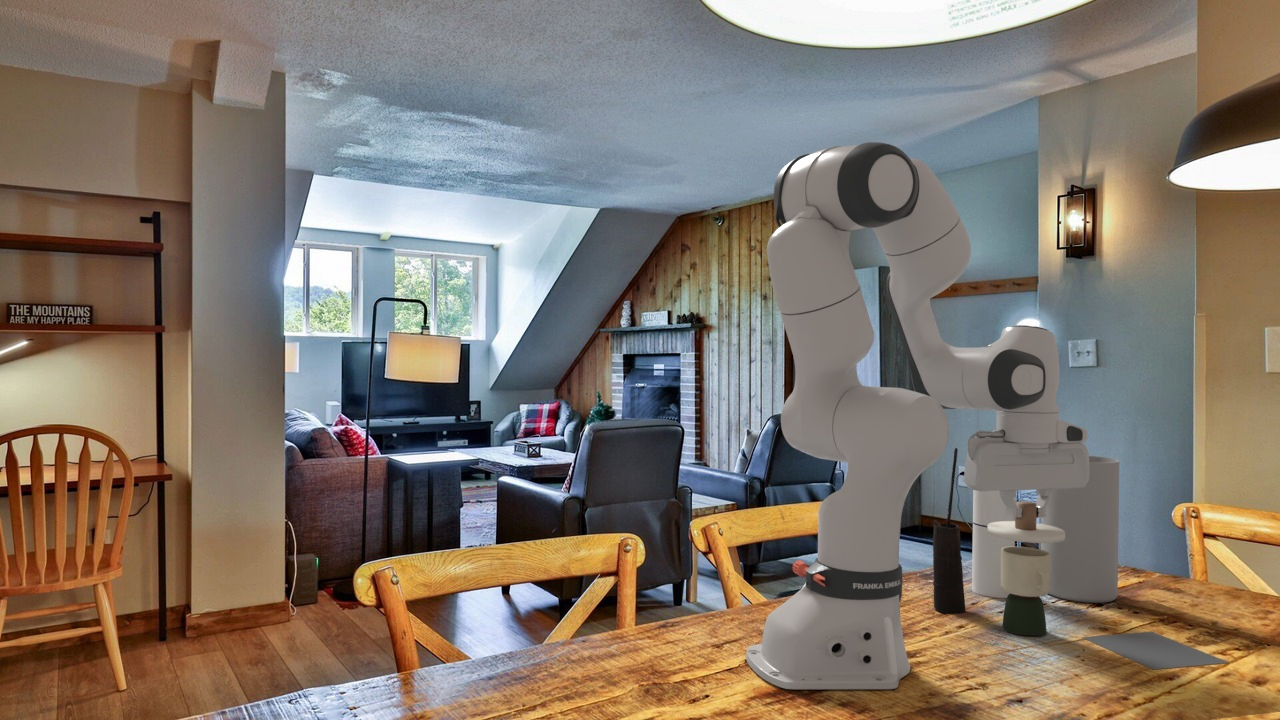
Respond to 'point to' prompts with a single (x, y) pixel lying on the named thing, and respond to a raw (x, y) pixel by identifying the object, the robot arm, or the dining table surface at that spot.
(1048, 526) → the lid
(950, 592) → the butter churn
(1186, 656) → the mat
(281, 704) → the dining table surface
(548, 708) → the dining table surface
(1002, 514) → the cylindrical container
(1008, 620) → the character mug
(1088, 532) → the cylinder vase
